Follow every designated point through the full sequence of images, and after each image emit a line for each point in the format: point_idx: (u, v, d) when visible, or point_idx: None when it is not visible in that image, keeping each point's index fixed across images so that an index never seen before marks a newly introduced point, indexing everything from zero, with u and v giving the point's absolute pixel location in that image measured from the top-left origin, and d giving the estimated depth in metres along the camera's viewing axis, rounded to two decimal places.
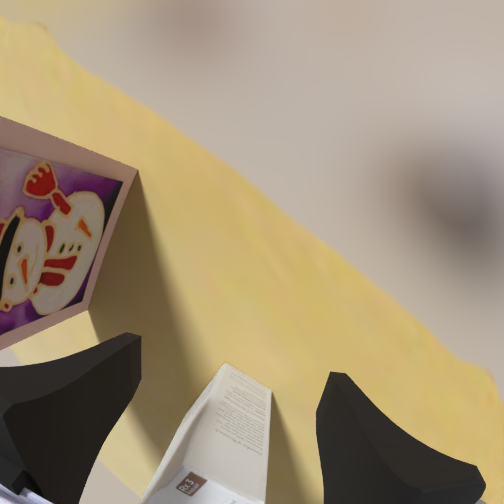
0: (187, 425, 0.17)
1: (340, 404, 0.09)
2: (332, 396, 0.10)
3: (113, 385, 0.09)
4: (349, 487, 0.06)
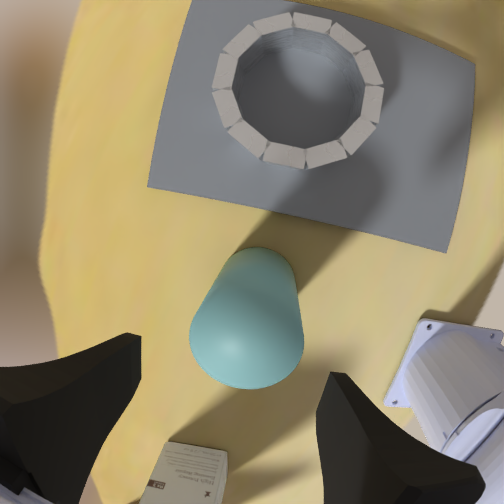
0: None
1: (340, 404, 0.09)
2: (332, 396, 0.10)
3: (113, 385, 0.09)
4: (349, 487, 0.06)
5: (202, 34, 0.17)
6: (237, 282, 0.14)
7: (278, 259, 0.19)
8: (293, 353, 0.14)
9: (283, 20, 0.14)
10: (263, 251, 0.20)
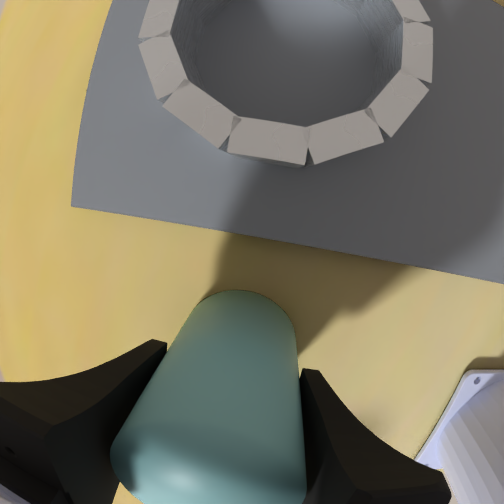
0: None
1: (308, 401, 0.09)
2: (302, 393, 0.10)
3: (141, 393, 0.09)
4: (311, 486, 0.06)
5: None
6: (180, 393, 0.07)
7: (267, 313, 0.12)
8: (288, 501, 0.06)
9: None
10: (244, 299, 0.12)
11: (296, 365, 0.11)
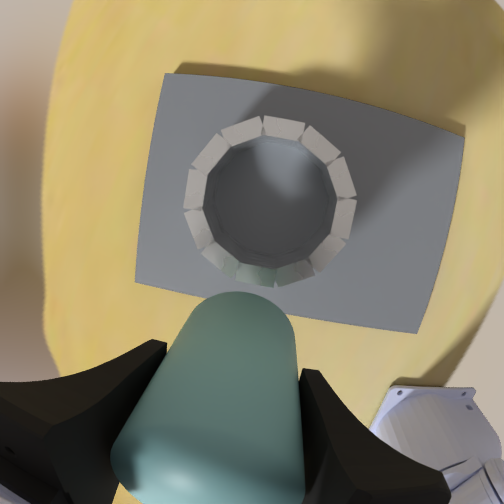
0: None
1: (308, 401, 0.09)
2: (303, 393, 0.10)
3: (141, 393, 0.09)
4: (311, 486, 0.06)
5: (175, 126, 0.19)
6: (180, 396, 0.07)
7: (267, 315, 0.12)
8: (287, 502, 0.06)
9: (253, 126, 0.15)
10: (243, 301, 0.12)
11: (295, 367, 0.11)
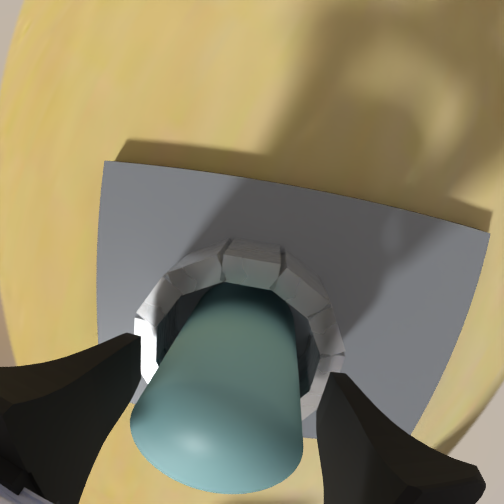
0: None
1: (340, 404, 0.09)
2: (332, 396, 0.10)
3: (113, 385, 0.09)
4: (349, 487, 0.06)
5: (122, 235, 0.15)
6: (195, 360, 0.08)
7: (269, 299, 0.14)
8: (287, 460, 0.08)
9: (209, 270, 0.12)
10: (248, 287, 0.14)
11: (294, 345, 0.12)
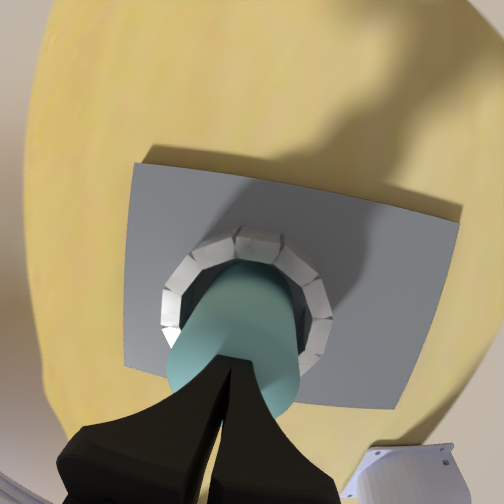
0: None
1: (229, 389, 0.09)
2: (229, 381, 0.10)
3: (218, 412, 0.09)
4: None
5: (148, 224, 0.18)
6: (219, 309, 0.12)
7: (271, 274, 0.17)
8: (288, 390, 0.11)
9: (224, 248, 0.15)
10: (254, 265, 0.17)
11: (292, 309, 0.16)
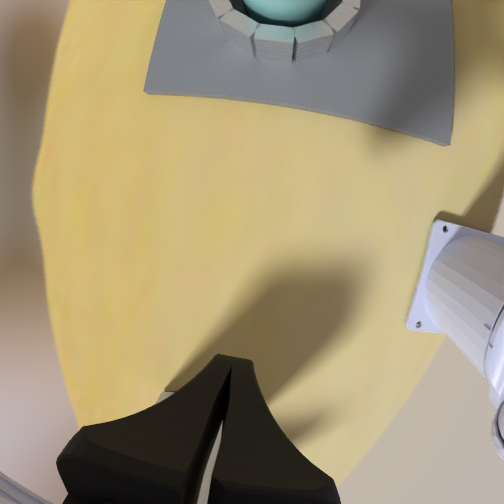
0: None
1: (229, 389, 0.09)
2: (229, 381, 0.10)
3: (218, 412, 0.09)
4: None
5: None
6: None
7: None
8: None
9: None
10: None
11: None
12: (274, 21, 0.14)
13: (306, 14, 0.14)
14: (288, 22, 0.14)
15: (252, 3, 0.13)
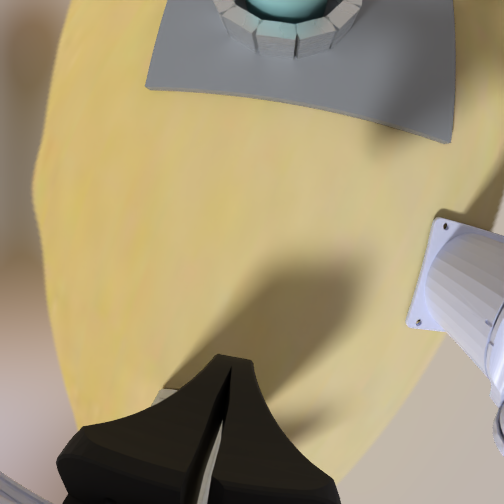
0: None
1: (229, 389, 0.09)
2: (229, 381, 0.10)
3: (218, 412, 0.09)
4: None
5: None
6: None
7: None
8: None
9: None
10: None
11: None
12: (276, 17, 0.14)
13: (308, 11, 0.14)
14: (290, 19, 0.14)
15: (255, 0, 0.13)
